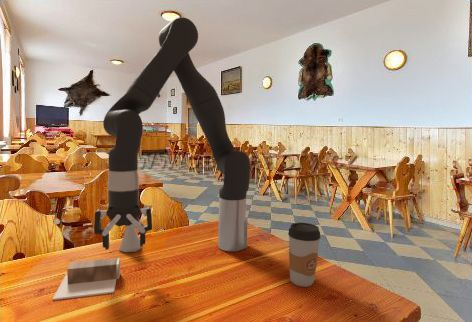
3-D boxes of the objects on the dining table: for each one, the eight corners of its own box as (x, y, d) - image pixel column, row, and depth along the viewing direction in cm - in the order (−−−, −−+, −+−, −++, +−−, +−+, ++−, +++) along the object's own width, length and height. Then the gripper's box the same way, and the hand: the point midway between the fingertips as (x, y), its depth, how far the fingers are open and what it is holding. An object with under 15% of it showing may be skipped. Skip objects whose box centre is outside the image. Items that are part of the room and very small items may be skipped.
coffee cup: (299, 292, 74) (302, 234, 72) (279, 277, 81) (282, 224, 80) (324, 285, 78) (327, 229, 76) (303, 271, 85) (306, 220, 84)
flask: (145, 245, 101) (145, 216, 100) (136, 253, 94) (136, 223, 93) (125, 243, 102) (124, 215, 101) (114, 252, 95) (114, 222, 94)
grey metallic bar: (120, 257, 81) (71, 262, 78) (118, 264, 77) (67, 269, 74) (120, 271, 81) (71, 276, 78) (119, 278, 78) (67, 284, 74)
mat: (119, 263, 87) (119, 262, 87) (113, 292, 72) (113, 291, 72) (70, 268, 83) (70, 267, 83) (52, 300, 68) (52, 298, 68)
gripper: (151, 183, 83) (152, 239, 85) (96, 185, 79) (97, 244, 81) (152, 189, 76) (152, 250, 78) (91, 191, 72) (92, 255, 73)
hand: (124, 247), depth 79 cm, fingers open, 8 cm apart
